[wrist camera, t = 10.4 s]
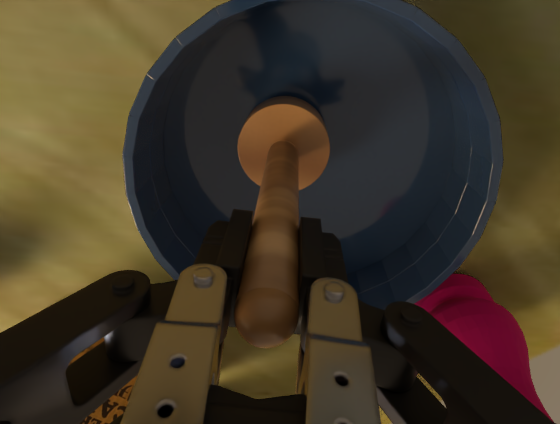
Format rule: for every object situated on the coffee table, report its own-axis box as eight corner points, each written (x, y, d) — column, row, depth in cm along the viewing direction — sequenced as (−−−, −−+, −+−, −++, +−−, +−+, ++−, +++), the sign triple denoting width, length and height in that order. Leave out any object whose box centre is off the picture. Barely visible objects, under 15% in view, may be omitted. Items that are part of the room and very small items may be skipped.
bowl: (151, -33, 22) (103, -49, 16) (510, 14, 22) (578, 14, 17) (163, 264, 31) (135, 314, 26) (410, 293, 32) (432, 348, 27)
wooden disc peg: (245, 90, 23) (147, 231, 8) (334, 101, 23) (402, 260, 8) (240, 173, 26) (158, 397, 11) (320, 182, 26) (351, 418, 11)
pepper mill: (403, 334, 34) (517, 678, 16) (407, 270, 31) (557, 615, 13) (485, 330, 33) (696, 683, 16) (498, 265, 30) (785, 619, 12)
